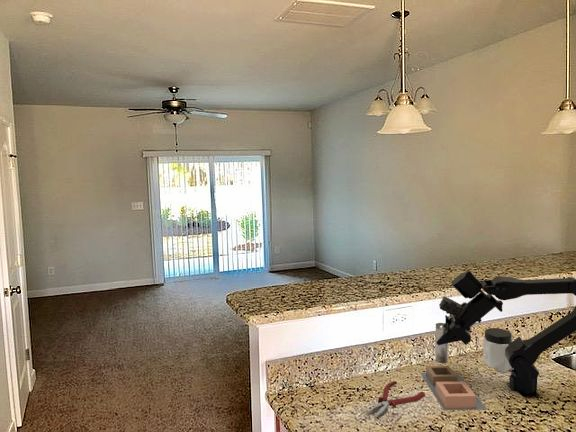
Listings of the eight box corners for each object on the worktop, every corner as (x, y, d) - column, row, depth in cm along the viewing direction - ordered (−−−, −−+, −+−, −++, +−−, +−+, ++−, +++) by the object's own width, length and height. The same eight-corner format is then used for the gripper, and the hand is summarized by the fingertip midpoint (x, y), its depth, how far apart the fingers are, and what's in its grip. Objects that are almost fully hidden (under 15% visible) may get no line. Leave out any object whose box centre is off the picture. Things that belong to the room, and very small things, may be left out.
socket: (464, 392, 129) (464, 381, 129) (476, 408, 121) (476, 396, 121) (435, 393, 130) (435, 381, 129) (445, 408, 121) (445, 396, 121)
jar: (478, 361, 152) (479, 327, 151) (501, 360, 153) (502, 326, 152) (492, 373, 143) (493, 337, 142) (516, 371, 144) (517, 336, 143)
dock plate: (457, 375, 142) (457, 363, 142) (487, 413, 120) (487, 399, 120) (420, 376, 142) (420, 364, 142) (443, 413, 121) (443, 399, 120)
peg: (445, 358, 138) (445, 322, 137) (449, 363, 135) (449, 326, 134) (433, 358, 138) (434, 322, 137) (437, 363, 135) (438, 327, 134)
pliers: (353, 411, 123) (353, 403, 123) (393, 386, 137) (393, 378, 137) (388, 428, 115) (388, 419, 115) (427, 400, 129) (427, 391, 129)
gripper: (453, 281, 142) (417, 312, 146) (459, 298, 124) (418, 333, 128) (479, 307, 141) (442, 337, 145) (489, 327, 123) (446, 361, 127)
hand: (436, 341), depth 136 cm, fingers closed on peg, 4 cm apart
